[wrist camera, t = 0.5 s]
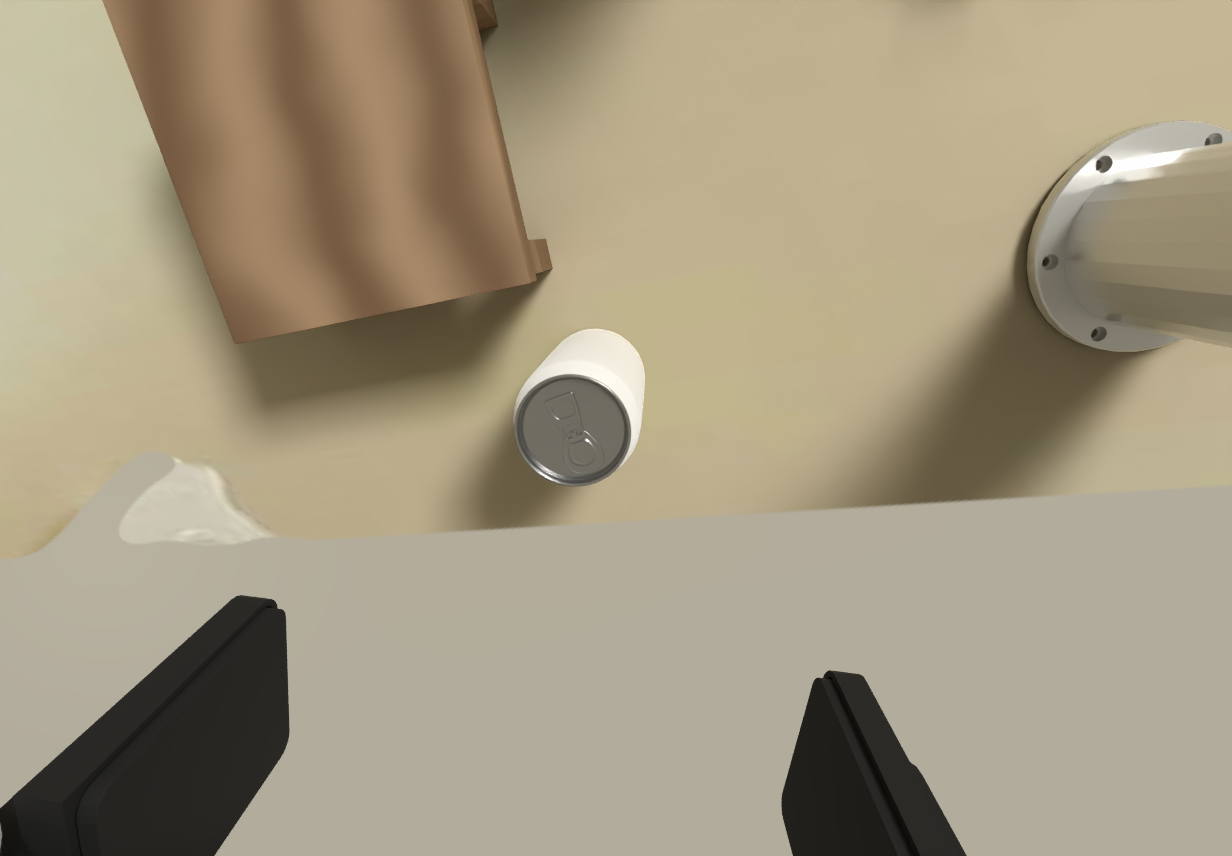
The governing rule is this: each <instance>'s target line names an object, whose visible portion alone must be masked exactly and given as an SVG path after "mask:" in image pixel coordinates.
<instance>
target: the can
mask: <svg viewBox="0 0 1232 856" xmlns="http://www.w3.org/2000/svg"><path fill="white" fill-rule="evenodd" d="M644 388H645V373H644V367H643V364H642V361H641V358H640V356H639V354H638V353H637V351H636V350H635V348H634V347H633V346H632V345H631V344H630V343H629V342H628V341H627V340H626V339H625V338H623V337H622V336H620V335H618V334H616V333H614V332H611V331H608V330H603V329H587V330H582V331H579V332H576V333H574V334H572V335H570V336H569V337H567V338H566V339H564V340H563V341H562V342H561V343H560V344H559V345H558V346H557V347H556V348H555V349H554V350H553V351H552V352H551V353H550V354H549V356H548V357H547V358H546V359H545V360H544V361H543V362H542V363H541V364H540V366H539V367H538V368H537V369H536V370H535V371H534V372H533V374H532V375H531V376H530V377H529V378H528V380H527V381H526V382H525V384H524V385H523V387H522V388H521V390H520V392H519V395H518V397H517V400H516V403H515V407H514V415H513V422H514V434H515V440H516V444H517V447H518V449H519V452H520V454H521V456H522V457H523V459H524V460H525V462H526V463H527V464H528V465H529V466H530V468H531V469H533V470H534V471H535V472H536V473H537V474H539V475H540V476H541V477H543V478H545V479H547V480H549V481H551V482H553V483H556V484H560V485H564V486H586V485H590V484H594V483H597V482H599V481H601V480H603V479H605V478H606V477H608V476H609V475H611V474H612V473H613V472H614V471H615V470H617V469H618V468H619V467H621V466H622V465H623V464H624V463H625V462H626V460H627V459H628V458H629V457H630V455H631V454H632V452H633V450H634V448H635V446H636V444H637V441H638V438H639V434H640V429H641V421H642V411H643V400H644Z"/></svg>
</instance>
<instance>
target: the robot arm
mask: <svg viewBox="0 0 1232 856" xmlns="http://www.w3.org/2000/svg"><path fill="white" fill-rule="evenodd" d="M1096 164H1097V167H1095V165H1096ZM1043 259H1045V262H1044V264H1043V265H1042V262H1043ZM1027 274H1028V280H1029V287H1030V290H1031V293H1032V296H1033V298H1034V301H1035V303H1036V306H1037V307H1038V309H1039V310H1040V312H1041V313H1042V315H1043V316H1044V317H1045V319H1046V320H1047V322H1049V323H1050V324H1051V325H1052V326H1053V327H1054V328H1055V329H1056V330H1057V331H1059V332H1060V333H1061V334H1063V335H1064V336H1066V337H1068V338H1070V339H1072V340H1073V341H1075V342H1077V343H1080V344H1084V345H1087V346H1090V347H1093V348H1098V349H1103V350H1108V351H1113V352H1137V351H1143V350H1149V349H1155V348H1159V347H1162V346H1165V345H1168V344H1171V343H1174V342H1177V341H1179V340H1181V339H1183V338H1185V339H1190V340H1195V341H1200V342H1205V343H1210V344H1215V345H1220V346H1225V347H1230V348H1232V132H1231V131H1230V130H1228V129H1226V128H1223V127H1220V126H1217V125H1213V124H1210V123H1207V122H1199V121H1187V120H1179V121H1171V122H1162V123H1156V124H1152V125H1148V126H1144V127H1140V128H1135V129H1133V130H1130V131H1128V132H1125V133H1123V134H1120V135H1118V136H1115V137H1113V138H1111V139H1109V140H1108V141H1106V142H1104V143H1103V144H1101V145H1099V146H1098V147H1096V148H1094V149H1093V150H1091V151H1090V152H1089V153H1087V154H1086V155H1085V156H1084V157H1083V158H1081V159H1080V160H1079V161H1078V162H1077V163H1075V164H1074V165H1073V166H1072V167H1071V168H1070V169H1069V170H1068V171H1067V172H1066V174H1065V175H1064V176H1063V177H1062V178H1061V179H1060V180H1059V182H1058V183H1057V184H1056V185H1055V186H1054V188H1053V189H1052V191H1051V192H1050V194H1049V196H1048V197H1047V199H1046V200H1045V202H1044V203H1043V205H1042V207H1041V209H1040V212H1039V214H1038V216H1037V219H1036V221H1035V223H1034V226H1033V228H1032V233H1031V237H1030V241H1029V245H1028V253H1027ZM286 641H287V640H286V616H285V612H284V610H282V609H278V608H277V604H276V602H275V601H274V600H272V599H266V598H258V597H250V596H243V595H240V596H236V597H235V598H233V599H232V600H231V601H229V602H228V603H227V604H226V605H225V606H224V607H223V608H222V609H221V610H219V611H218V612H217V613H216V614H215V615H214V616H213V617H212V618H211V619H210V620H208V621H207V622H206V623H205V624H204V625H203V626H202V627H201V628H200V629H198V630H197V631H196V632H195V633H194V634H193V635H192V636H191V637H189V638H188V639H187V640H186V641H185V642H184V643H183V644H182V645H181V646H179V647H178V648H177V649H176V650H175V651H174V652H173V653H172V654H171V655H169V656H168V657H167V658H166V659H165V660H164V661H163V662H162V663H161V664H159V665H158V666H157V667H156V668H155V669H154V670H153V671H152V672H151V673H150V674H148V675H147V676H146V677H145V678H144V679H143V680H142V681H141V682H139V684H137V685H136V686H135V687H134V688H133V689H132V690H131V691H130V692H128V693H127V694H126V695H125V696H124V697H123V698H122V699H121V700H120V701H118V702H117V703H116V704H115V705H114V706H113V707H112V708H111V709H110V710H108V711H107V712H106V713H105V714H104V715H103V716H102V717H101V718H99V719H98V720H97V721H96V722H95V723H94V724H93V725H92V726H91V727H89V728H88V729H87V730H86V731H85V732H84V733H83V734H82V735H81V736H79V737H78V738H77V739H76V740H75V741H74V742H73V743H72V744H71V745H69V746H68V747H67V748H66V749H65V750H64V751H63V752H62V753H61V754H60V755H58V756H57V757H56V758H55V759H54V760H53V761H52V762H51V763H50V764H48V766H46V767H45V768H44V769H43V770H42V771H41V772H39V773H38V774H37V775H36V776H35V777H34V778H33V779H32V780H31V781H30V782H28V783H27V784H26V785H25V786H24V787H23V788H22V789H21V790H19V791H18V792H17V793H16V794H15V795H14V796H13V797H12V798H11V799H10V800H9V801H8V802H7V803H6V804H5V805H4V806H2V807H1V808H0V856H214V855H215V854H216V852H217V850H218V849H219V848H220V846H221V845H222V843H223V842H224V840H225V839H226V837H227V836H228V835H229V833H230V832H231V830H232V829H233V827H234V826H235V824H236V823H237V821H238V820H239V818H240V817H241V815H242V814H243V812H244V811H245V810H246V808H247V807H248V805H249V803H250V802H251V801H252V799H253V798H254V796H255V795H256V793H257V792H258V790H259V789H260V787H261V786H262V784H263V783H264V781H265V780H266V778H267V777H268V775H269V774H270V773H271V771H272V770H273V768H274V767H275V765H276V764H277V762H278V760H279V759H280V758H281V756H282V754H283V753H284V750H285V748H286V745H287V742H288V738H289V704H288V672H287V642H286ZM782 815H783V820H784V823H785V827H786V831H787V835H788V839H789V843H790V846H791V850H792V854H793V856H966V854H965V852H964V850H963V848H962V847H961V845H960V843H959V841H958V839H957V837H956V836H955V834H954V832H953V830H952V828H951V827H950V825H949V823H948V821H947V819H946V817H945V816H944V814H943V812H942V810H941V808H940V806H939V805H938V803H937V801H936V799H935V797H934V796H933V794H932V792H931V790H930V788H929V786H928V785H927V783H926V781H925V779H924V778H923V775H922V774H921V773H920V771H919V770H918V768H917V767H916V766H915V765H913V764H912V763H910V761H909V760H908V758H907V756H906V754H905V752H904V751H903V748H902V747H901V745H900V743H899V741H898V739H897V737H896V736H895V734H894V732H893V730H892V728H891V726H890V724H889V723H888V721H887V719H886V717H885V715H884V713H883V711H882V710H881V708H880V706H879V704H878V702H877V700H876V698H875V697H874V695H873V693H872V691H871V689H870V688H869V685H868V684H867V682H866V680H865V679H864V677H863V676H862V675H860V674H853V673H845V672H838V671H827V672H826V673H825V675H824V677H823V678H816V679H815V680H814V682H813V685H812V688H811V692H810V696H809V699H808V703H807V706H806V710H805V714H804V717H803V721H802V725H801V728H800V732H799V735H798V739H797V742H796V746H795V750H794V753H793V757H792V761H791V765H790V768H789V771H788V775H787V779H786V782H785V786H784V790H783V794H782Z"/></svg>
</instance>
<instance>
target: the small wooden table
mask: <svg viewBox="0 0 1232 856" xmlns="http://www.w3.org/2000/svg"><path fill="white" fill-rule="evenodd" d="M102 1H103V3H104V6H105V8H106V11H107V14H108V16H109V19H110V21H111V24H112V26H113V29H114V32H115V34H116V37H117V39H118V42H119V45H120V47H121V50H122V52H123V55H124V58H125V60H126V63H127V65H128V68H129V71H130V73H131V76H132V78H133V81H134V83H135V86H136V89H137V91H138V94H139V96H140V99H141V102H142V104H143V107H144V109H145V112H146V115H147V117H148V120H149V122H150V125H151V128H152V130H153V133H154V135H155V138H156V140H157V143H158V146H159V148H160V151H161V153H162V156H163V159H164V161H165V164H166V166H167V169H168V172H169V174H170V177H171V179H172V182H173V185H174V187H175V190H176V192H177V195H178V197H179V200H180V203H181V205H182V208H183V210H184V213H185V216H186V218H187V221H188V223H189V226H190V229H191V231H192V234H193V236H194V239H195V241H196V244H197V247H198V249H199V252H200V254H201V257H202V260H203V262H204V265H205V267H206V270H207V273H208V275H209V278H210V280H211V283H212V286H213V288H214V291H215V293H216V296H217V298H218V301H219V304H220V306H221V309H222V311H223V314H224V317H225V319H226V322H227V324H228V327H229V330H230V332H231V335H232V337H233V340H234V343H235V344H238V343H243V342H248V341H253V340H258V339H262V338H267V337H272V336H277V335H282V334H287V333H291V332H296V331H301V330H306V329H311V328H316V327H321V326H325V325H330V324H335V323H340V322H345V321H350V320H354V319H359V318H364V317H369V316H374V315H379V314H383V313H388V312H393V311H398V310H403V309H408V308H413V307H417V306H422V305H427V304H432V303H437V302H442V301H446V300H451V299H456V298H461V297H466V296H471V295H476V294H480V293H485V292H490V291H495V290H500V289H505V288H509V287H514V286H519V285H524V284H529V283H532V282H534V281H537V278H536V274H537V273H540V272H543V271H546V270H550V269H552V264H551V260H550V255H549V251H548V247H547V242H546V239H540V240H528V239H527V235H526V231H525V226H524V222H523V218H522V214H521V209H520V205H519V201H518V196H517V192H516V188H515V184H514V179H513V175H512V171H511V166H510V162H509V158H508V154H507V149H506V145H505V141H504V136H503V132H502V128H501V124H500V119H499V115H498V111H497V106H496V102H495V98H494V94H493V89H492V85H491V81H490V76H489V72H488V68H487V64H486V59H485V55H484V51H483V46H482V42H481V38H480V34H479V30H482V29H486V28H490V27H493V26H497V25H498V24H497V20H496V15H495V11H494V6H493V2H492V0H102Z"/></svg>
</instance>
